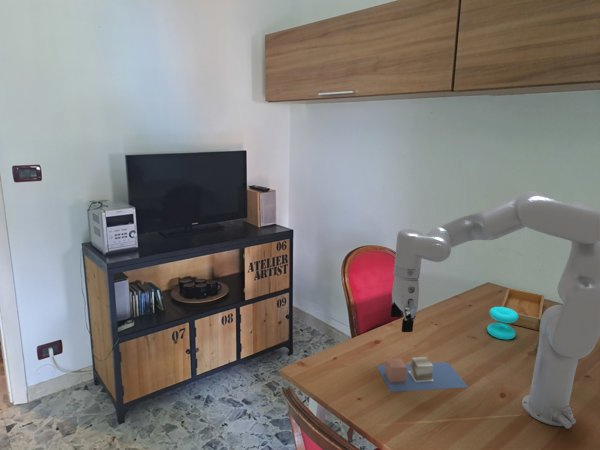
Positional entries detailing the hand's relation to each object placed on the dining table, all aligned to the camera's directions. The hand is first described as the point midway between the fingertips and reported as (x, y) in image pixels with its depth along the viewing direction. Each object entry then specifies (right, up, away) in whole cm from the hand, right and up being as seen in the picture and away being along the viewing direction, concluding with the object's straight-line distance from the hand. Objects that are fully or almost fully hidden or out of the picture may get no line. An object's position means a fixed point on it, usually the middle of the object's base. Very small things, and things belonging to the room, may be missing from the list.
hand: (400, 323), depth 128 cm
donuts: (+47, -13, +35) cm, 60 cm away
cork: (+57, -16, +23) cm, 64 cm away
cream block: (+8, -18, +5) cm, 20 cm away
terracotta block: (-1, -18, +4) cm, 18 cm away
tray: (+66, -9, +55) cm, 87 cm away
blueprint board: (+8, -18, +5) cm, 21 cm away
